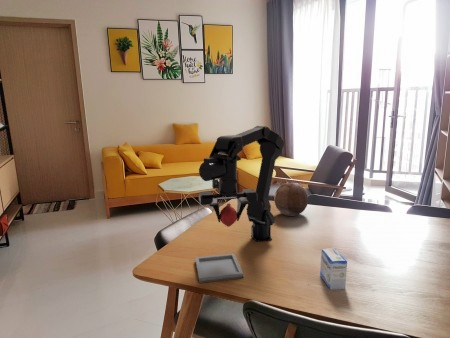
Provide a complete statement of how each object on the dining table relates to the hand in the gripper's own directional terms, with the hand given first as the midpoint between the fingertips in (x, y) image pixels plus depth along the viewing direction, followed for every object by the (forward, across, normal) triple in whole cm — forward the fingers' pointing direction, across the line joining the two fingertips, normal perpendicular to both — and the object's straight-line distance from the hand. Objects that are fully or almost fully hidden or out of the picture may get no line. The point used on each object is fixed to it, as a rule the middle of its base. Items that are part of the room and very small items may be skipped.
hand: (228, 221), depth 107 cm
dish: (+12, +5, +8) cm, 16 cm away
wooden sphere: (+12, -35, -33) cm, 49 cm away
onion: (+2, 0, 0) cm, 2 cm away
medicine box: (+12, -26, +22) cm, 36 cm away
